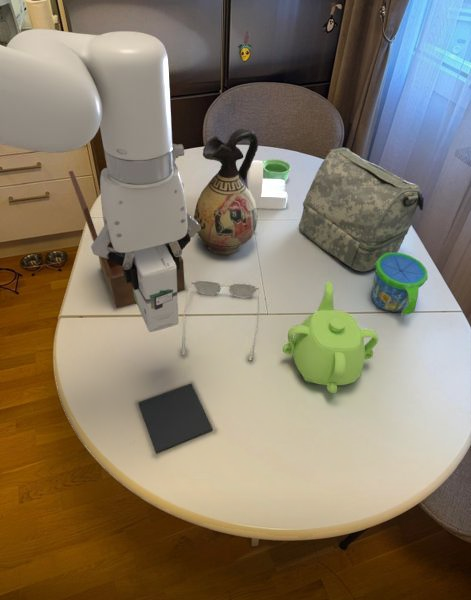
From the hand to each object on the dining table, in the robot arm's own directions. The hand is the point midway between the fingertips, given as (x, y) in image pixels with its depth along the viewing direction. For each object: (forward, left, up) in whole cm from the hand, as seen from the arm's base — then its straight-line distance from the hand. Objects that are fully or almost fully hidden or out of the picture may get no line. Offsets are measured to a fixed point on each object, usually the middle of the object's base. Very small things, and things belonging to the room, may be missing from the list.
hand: (152, 277), depth 60 cm
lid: (-4, +27, -8) cm, 29 cm away
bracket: (+44, +49, -25) cm, 71 cm away
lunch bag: (+58, +21, -25) cm, 67 cm away
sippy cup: (+53, -1, -25) cm, 59 cm away
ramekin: (+56, +57, -25) cm, 84 cm away
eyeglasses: (+15, +8, -25) cm, 30 cm away
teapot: (+30, -9, -25) cm, 40 cm away
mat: (-1, -9, -25) cm, 27 cm away
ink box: (0, 0, -7) cm, 7 cm away
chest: (+4, +27, -25) cm, 37 cm away
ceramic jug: (+28, +32, -25) cm, 50 cm away
